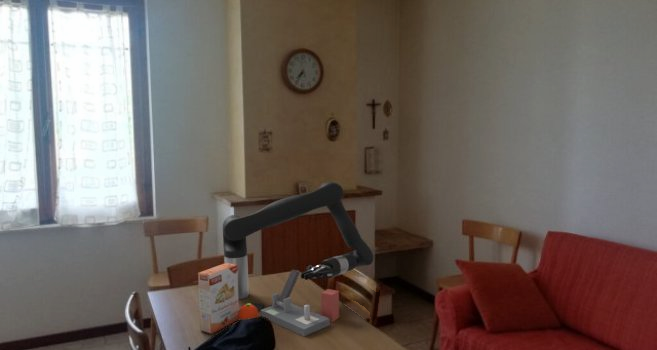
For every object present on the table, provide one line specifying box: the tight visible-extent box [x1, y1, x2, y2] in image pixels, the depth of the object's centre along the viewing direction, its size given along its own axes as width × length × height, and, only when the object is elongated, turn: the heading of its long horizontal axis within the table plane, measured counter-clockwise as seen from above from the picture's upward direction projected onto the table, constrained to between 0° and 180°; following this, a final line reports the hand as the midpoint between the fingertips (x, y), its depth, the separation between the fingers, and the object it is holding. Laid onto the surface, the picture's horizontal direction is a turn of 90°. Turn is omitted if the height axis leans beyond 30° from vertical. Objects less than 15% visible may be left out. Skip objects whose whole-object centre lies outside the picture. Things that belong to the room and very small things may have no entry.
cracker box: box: [197, 262, 240, 335], centre depth 173 cm, size 14×6×21 cm, turn 148°
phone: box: [239, 302, 266, 313], centre depth 185 cm, size 7×1×15 cm
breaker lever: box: [276, 269, 301, 307], centre depth 183 cm, size 4×2×14 cm
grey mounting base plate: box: [259, 292, 331, 337], centre depth 176 cm, size 24×12×8 cm, turn 45°
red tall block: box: [320, 288, 340, 323], centre depth 177 cm, size 5×5×10 cm
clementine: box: [239, 302, 259, 321], centre depth 175 cm, size 8×7×7 cm
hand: (303, 276), depth 188 cm, fingers closed
